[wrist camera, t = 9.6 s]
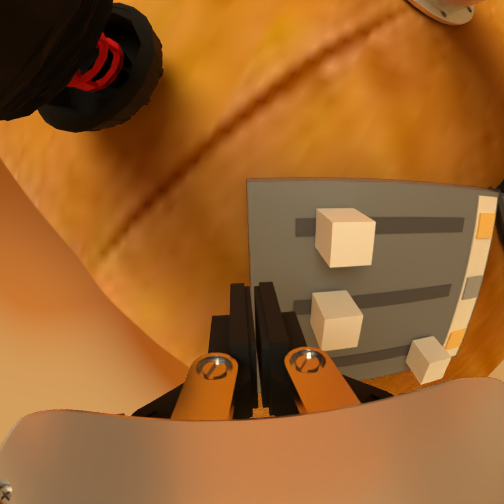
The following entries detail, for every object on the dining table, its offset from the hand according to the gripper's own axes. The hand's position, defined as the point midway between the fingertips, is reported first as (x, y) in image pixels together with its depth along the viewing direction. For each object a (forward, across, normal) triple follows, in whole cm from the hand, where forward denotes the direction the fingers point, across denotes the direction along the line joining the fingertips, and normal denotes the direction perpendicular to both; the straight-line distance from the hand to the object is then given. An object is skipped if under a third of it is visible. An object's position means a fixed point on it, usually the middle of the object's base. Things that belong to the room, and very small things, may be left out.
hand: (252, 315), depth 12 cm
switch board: (+13, -13, +6) cm, 20 cm away
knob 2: (+11, -7, +6) cm, 14 cm away
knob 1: (+11, -7, 0) cm, 13 cm away
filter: (+14, +9, -12) cm, 20 cm away
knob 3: (+11, -19, +14) cm, 25 cm away
